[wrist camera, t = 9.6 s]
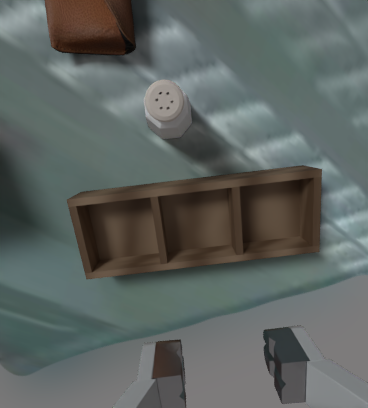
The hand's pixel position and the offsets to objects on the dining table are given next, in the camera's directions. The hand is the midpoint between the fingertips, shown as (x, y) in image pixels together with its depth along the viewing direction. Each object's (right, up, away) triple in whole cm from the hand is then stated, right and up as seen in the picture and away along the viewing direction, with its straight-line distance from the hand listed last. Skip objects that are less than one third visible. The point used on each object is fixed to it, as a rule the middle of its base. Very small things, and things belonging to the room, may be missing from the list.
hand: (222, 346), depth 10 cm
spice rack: (0, +4, +21) cm, 21 cm away
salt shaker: (-3, +16, +18) cm, 24 cm away
